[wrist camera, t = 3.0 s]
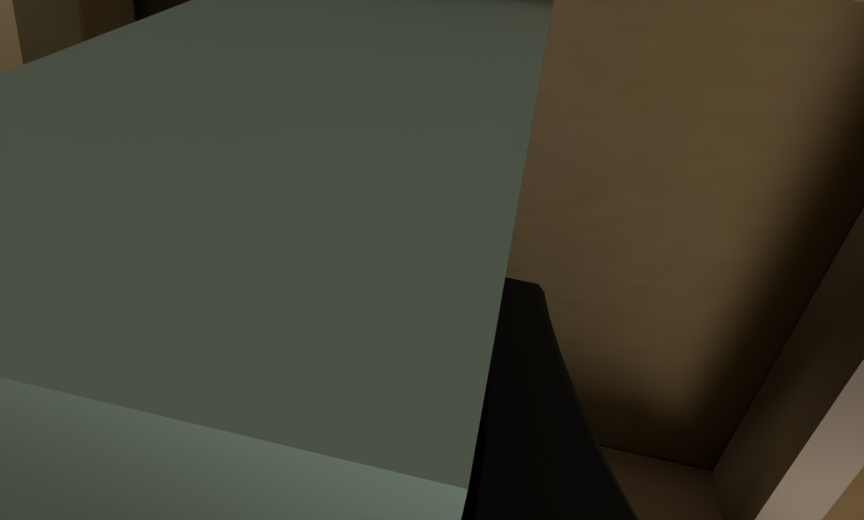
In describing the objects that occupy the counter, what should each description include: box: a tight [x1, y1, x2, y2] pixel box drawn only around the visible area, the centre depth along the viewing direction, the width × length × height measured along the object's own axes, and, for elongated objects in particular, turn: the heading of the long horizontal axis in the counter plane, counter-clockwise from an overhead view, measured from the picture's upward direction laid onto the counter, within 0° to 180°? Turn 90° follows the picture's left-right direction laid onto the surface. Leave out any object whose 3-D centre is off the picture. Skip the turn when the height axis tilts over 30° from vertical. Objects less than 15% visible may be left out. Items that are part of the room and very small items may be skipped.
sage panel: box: [0, 0, 554, 520], centre depth 8 cm, size 9×3×9 cm, turn 174°
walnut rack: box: [600, 0, 864, 520], centre depth 10 cm, size 12×17×3 cm
